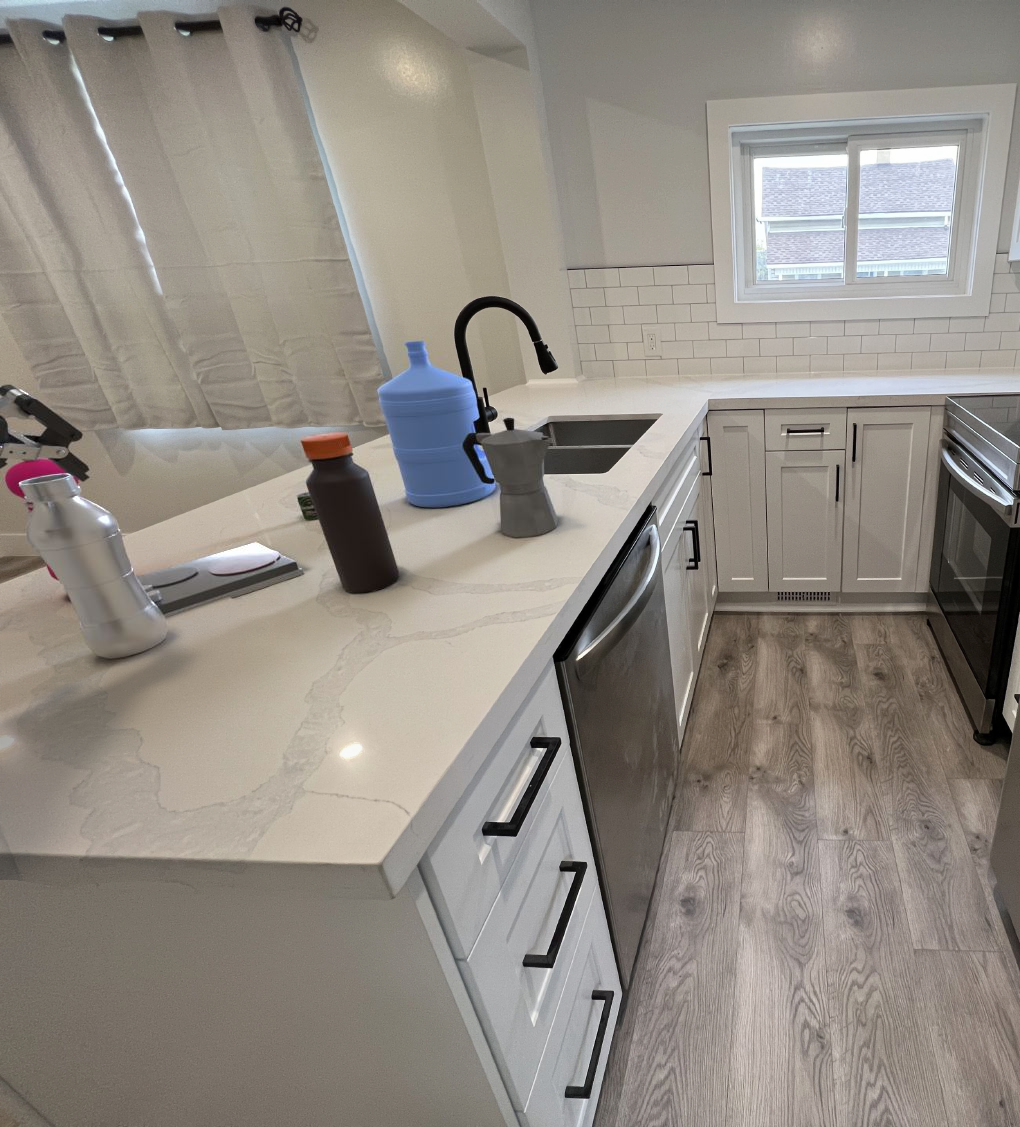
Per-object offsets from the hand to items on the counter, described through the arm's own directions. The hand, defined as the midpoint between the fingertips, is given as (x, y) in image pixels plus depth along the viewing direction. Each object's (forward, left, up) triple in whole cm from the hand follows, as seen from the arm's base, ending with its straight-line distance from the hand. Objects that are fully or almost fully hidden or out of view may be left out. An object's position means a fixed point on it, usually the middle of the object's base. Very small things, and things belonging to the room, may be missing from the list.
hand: (35, 506), depth 58 cm
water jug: (+53, +23, -18) cm, 60 cm away
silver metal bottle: (+2, +3, -18) cm, 19 cm away
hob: (+13, +16, -18) cm, 27 cm away
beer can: (+33, +34, -18) cm, 51 cm away
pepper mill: (+4, +27, -18) cm, 33 cm away
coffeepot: (+49, -4, -18) cm, 52 cm away
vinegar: (+25, -3, -18) cm, 31 cm away
